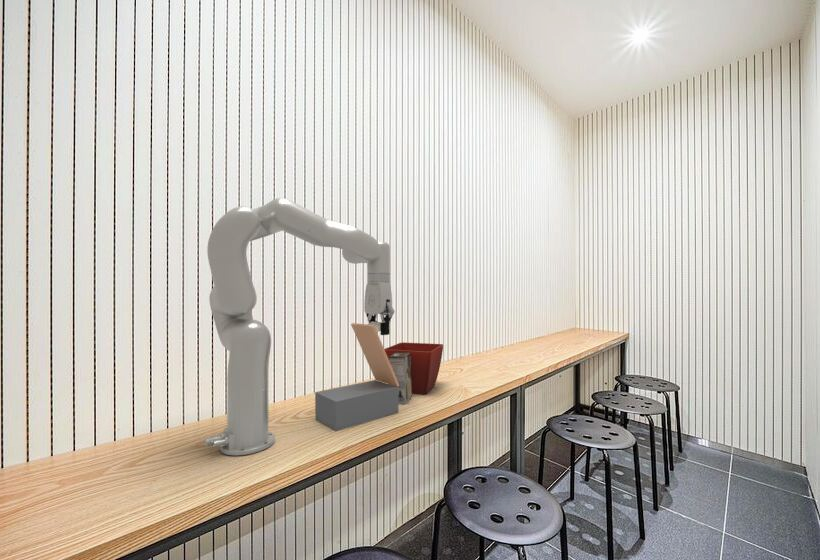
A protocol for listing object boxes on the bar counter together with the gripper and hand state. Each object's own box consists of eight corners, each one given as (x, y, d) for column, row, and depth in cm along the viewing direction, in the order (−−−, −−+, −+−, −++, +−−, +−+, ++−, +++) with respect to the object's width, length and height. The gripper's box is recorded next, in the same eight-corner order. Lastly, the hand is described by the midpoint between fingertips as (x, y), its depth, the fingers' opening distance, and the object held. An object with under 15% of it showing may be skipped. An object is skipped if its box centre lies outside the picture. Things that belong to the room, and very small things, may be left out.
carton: (336, 431, 97) (336, 401, 98) (315, 418, 107) (315, 392, 108) (398, 412, 112) (398, 387, 112) (374, 403, 121) (374, 379, 122)
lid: (372, 326, 107) (385, 317, 110) (350, 324, 116) (364, 315, 120) (397, 386, 112) (410, 376, 116) (375, 379, 122) (387, 370, 125)
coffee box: (395, 395, 130) (394, 352, 131) (412, 396, 129) (411, 352, 130) (388, 403, 121) (388, 356, 122) (406, 404, 120) (406, 356, 121)
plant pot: (431, 398, 127) (430, 351, 127) (383, 393, 133) (382, 349, 134) (444, 385, 144) (444, 343, 145) (401, 381, 151) (400, 342, 152)
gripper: (355, 280, 121) (355, 333, 120) (385, 278, 108) (385, 337, 107) (373, 280, 126) (373, 331, 125) (403, 278, 112) (404, 335, 112)
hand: (378, 333), depth 116 cm, fingers closed on lid, 6 cm apart
